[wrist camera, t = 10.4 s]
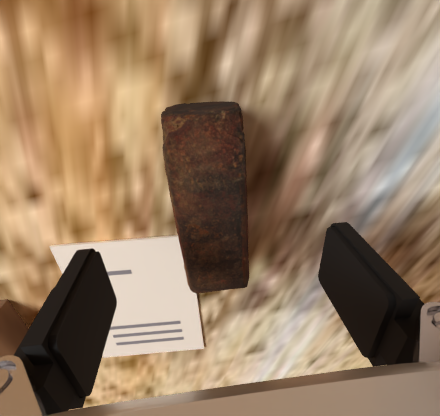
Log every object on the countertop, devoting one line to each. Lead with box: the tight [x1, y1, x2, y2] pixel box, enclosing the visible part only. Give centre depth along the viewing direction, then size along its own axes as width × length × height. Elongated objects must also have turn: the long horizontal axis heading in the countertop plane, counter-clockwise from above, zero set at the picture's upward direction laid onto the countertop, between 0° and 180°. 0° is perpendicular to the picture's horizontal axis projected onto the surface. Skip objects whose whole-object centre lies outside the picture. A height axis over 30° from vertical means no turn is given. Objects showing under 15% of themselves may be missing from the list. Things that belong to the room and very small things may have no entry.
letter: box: [50, 235, 204, 358], centre depth 23 cm, size 10×14×1 cm
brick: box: [161, 102, 249, 293], centre depth 16 cm, size 11×4×5 cm, turn 4°
